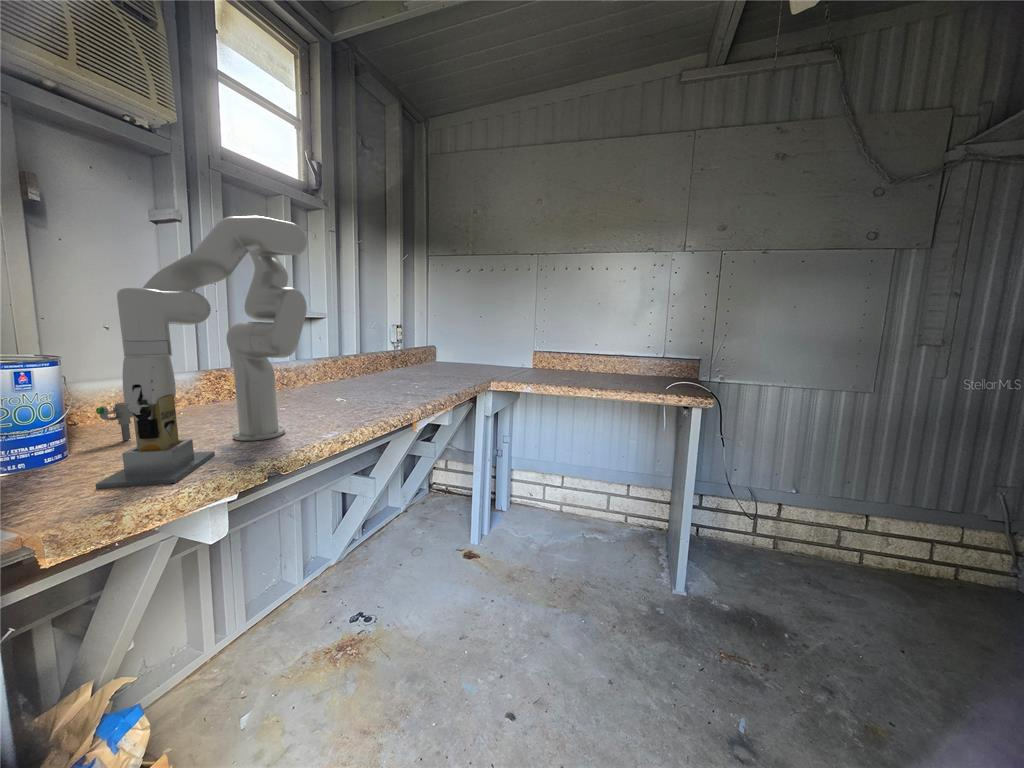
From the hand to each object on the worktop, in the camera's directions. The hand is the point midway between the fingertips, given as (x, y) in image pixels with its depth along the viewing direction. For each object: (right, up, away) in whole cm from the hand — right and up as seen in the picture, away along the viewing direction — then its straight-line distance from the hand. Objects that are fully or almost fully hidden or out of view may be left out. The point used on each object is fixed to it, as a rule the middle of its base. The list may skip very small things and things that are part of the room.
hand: (157, 433), depth 89 cm
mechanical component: (-27, -5, +22) cm, 35 cm away
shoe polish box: (0, -4, +1) cm, 4 cm away
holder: (0, -8, +1) cm, 8 cm away
